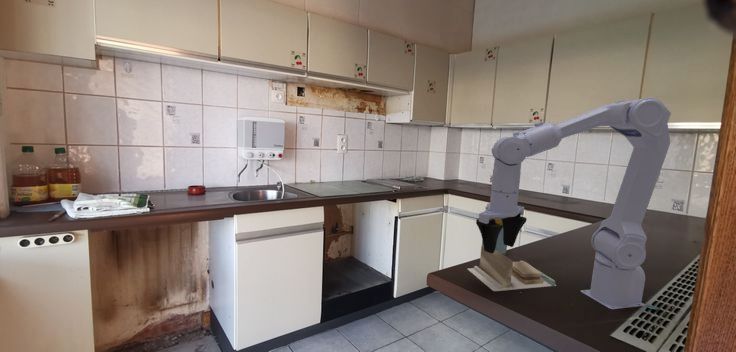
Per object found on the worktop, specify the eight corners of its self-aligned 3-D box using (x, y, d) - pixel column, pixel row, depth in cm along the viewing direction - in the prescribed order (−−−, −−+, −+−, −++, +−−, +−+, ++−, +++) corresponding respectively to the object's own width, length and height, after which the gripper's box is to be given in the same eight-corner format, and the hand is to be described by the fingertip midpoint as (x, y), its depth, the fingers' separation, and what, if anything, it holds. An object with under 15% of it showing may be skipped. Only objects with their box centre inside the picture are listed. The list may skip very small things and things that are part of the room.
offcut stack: (519, 267, 89) (520, 258, 89) (544, 283, 81) (545, 273, 80) (501, 268, 88) (502, 260, 88) (524, 284, 80) (525, 275, 79)
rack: (522, 266, 91) (523, 260, 91) (556, 287, 80) (557, 280, 80) (466, 270, 88) (467, 264, 87) (493, 293, 76) (494, 286, 76)
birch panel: (486, 269, 88) (488, 245, 87) (510, 287, 78) (512, 261, 77) (479, 269, 87) (481, 245, 86) (502, 287, 78) (505, 261, 77)
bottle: (499, 249, 104) (504, 202, 102) (510, 258, 97) (515, 208, 95) (477, 248, 104) (482, 201, 101) (486, 257, 97) (491, 207, 95)
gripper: (506, 185, 82) (501, 238, 84) (469, 190, 74) (464, 248, 76) (535, 190, 76) (528, 246, 79) (497, 196, 68) (491, 259, 70)
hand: (499, 248), depth 77 cm, fingers open, 7 cm apart
